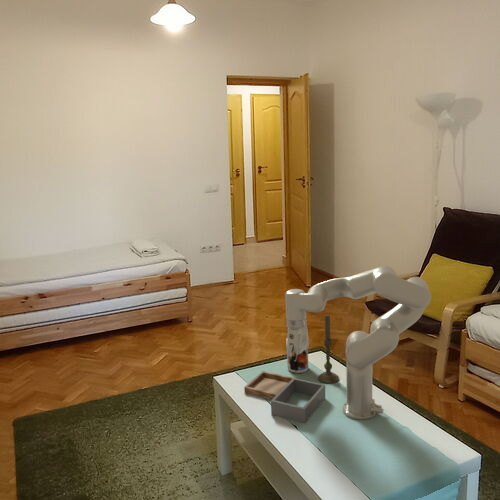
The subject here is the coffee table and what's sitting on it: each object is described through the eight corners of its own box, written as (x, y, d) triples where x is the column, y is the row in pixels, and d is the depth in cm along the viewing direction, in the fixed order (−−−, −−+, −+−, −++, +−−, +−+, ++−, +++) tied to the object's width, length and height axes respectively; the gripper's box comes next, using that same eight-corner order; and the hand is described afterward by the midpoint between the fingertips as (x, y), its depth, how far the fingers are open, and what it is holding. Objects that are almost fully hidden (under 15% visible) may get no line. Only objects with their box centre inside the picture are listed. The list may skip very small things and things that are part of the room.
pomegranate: (307, 378, 182) (313, 354, 188) (300, 368, 177) (306, 345, 183) (289, 376, 186) (296, 353, 192) (282, 367, 181) (289, 344, 187)
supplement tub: (312, 368, 220) (311, 338, 217) (299, 375, 214) (298, 345, 210) (296, 362, 227) (295, 333, 224) (283, 369, 221) (281, 339, 217)
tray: (295, 383, 207) (295, 378, 206) (278, 401, 194) (278, 395, 193) (263, 376, 215) (262, 371, 214) (244, 392, 202) (244, 387, 201)
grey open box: (325, 398, 194) (325, 384, 193) (305, 424, 177) (304, 409, 176) (293, 391, 201) (293, 377, 200) (271, 415, 184) (270, 400, 183)
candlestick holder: (326, 371, 216) (325, 308, 210) (343, 378, 209) (342, 313, 203) (313, 379, 210) (311, 314, 204) (330, 386, 203) (329, 319, 197)
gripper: (295, 331, 172) (298, 377, 176) (314, 315, 187) (316, 358, 190) (277, 328, 176) (279, 373, 180) (297, 313, 190) (299, 355, 194)
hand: (298, 365), depth 185 cm, fingers closed on pomegranate, 7 cm apart
